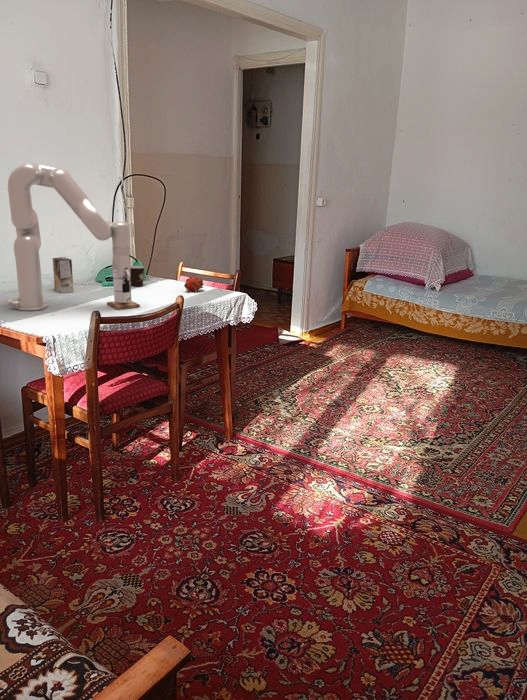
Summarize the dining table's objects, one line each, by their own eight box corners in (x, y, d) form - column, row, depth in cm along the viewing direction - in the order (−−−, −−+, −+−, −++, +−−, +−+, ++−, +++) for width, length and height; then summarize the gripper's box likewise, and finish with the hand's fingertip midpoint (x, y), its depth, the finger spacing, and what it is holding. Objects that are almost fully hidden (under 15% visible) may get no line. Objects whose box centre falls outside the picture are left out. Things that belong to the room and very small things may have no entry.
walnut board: (116, 309, 250) (116, 307, 250) (107, 304, 259) (106, 302, 258) (139, 307, 256) (139, 304, 256) (129, 302, 265) (129, 299, 264)
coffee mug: (139, 283, 309) (139, 265, 306) (147, 286, 302) (147, 267, 299) (120, 285, 302) (119, 266, 299) (127, 288, 295) (127, 269, 292)
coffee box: (74, 292, 282) (72, 259, 277) (61, 293, 278) (59, 260, 273) (66, 288, 288) (64, 256, 284) (54, 290, 284) (51, 257, 279)
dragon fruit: (205, 293, 300) (186, 299, 293) (196, 281, 303) (177, 287, 295) (209, 282, 294) (190, 287, 286) (200, 270, 296) (181, 275, 289)
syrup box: (126, 303, 253) (125, 270, 249) (113, 301, 255) (112, 269, 250) (131, 300, 259) (130, 268, 255) (119, 299, 260) (118, 267, 256)
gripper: (105, 248, 255) (107, 287, 260) (121, 254, 241) (122, 295, 246) (121, 248, 259) (122, 286, 264) (137, 253, 246) (138, 293, 251)
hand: (122, 290), depth 255 cm, fingers closed on syrup box, 7 cm apart
